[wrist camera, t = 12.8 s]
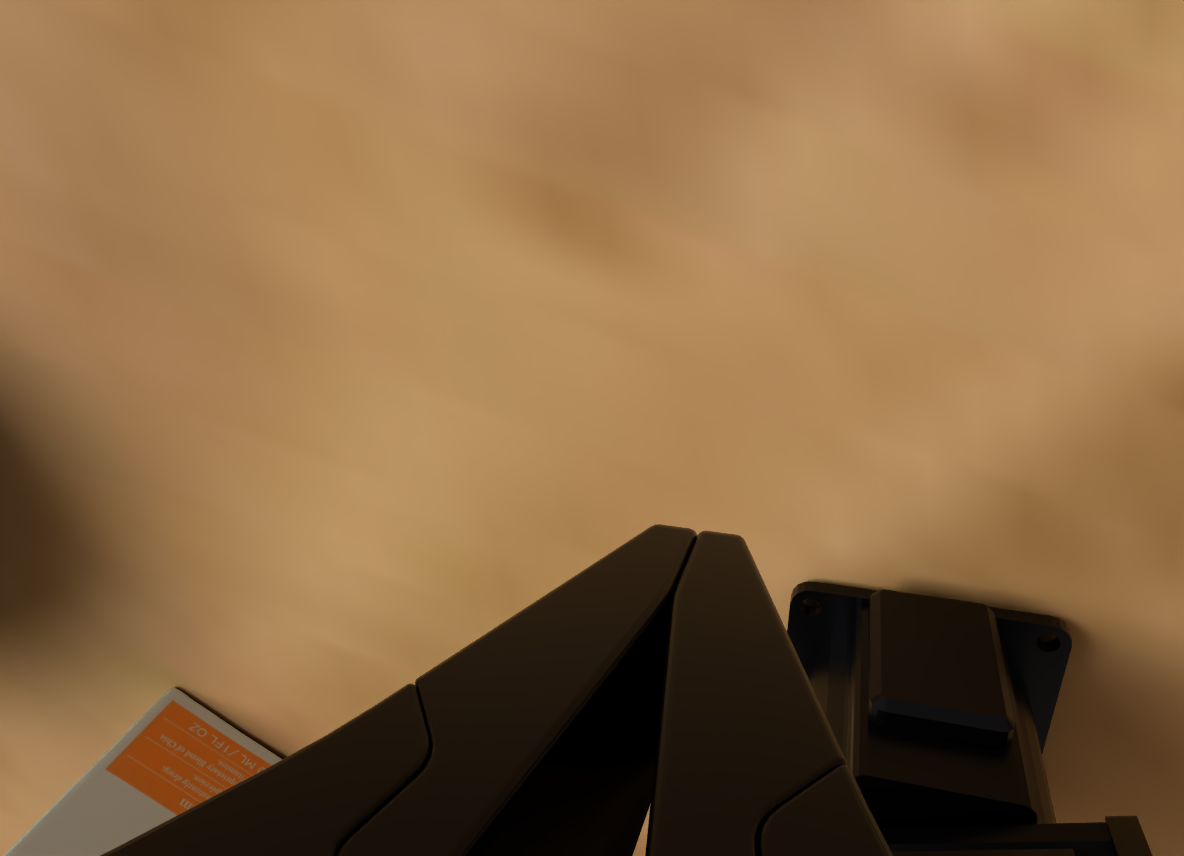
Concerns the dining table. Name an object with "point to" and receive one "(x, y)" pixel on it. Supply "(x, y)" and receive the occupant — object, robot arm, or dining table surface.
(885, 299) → the dining table surface
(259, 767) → the skincare box
